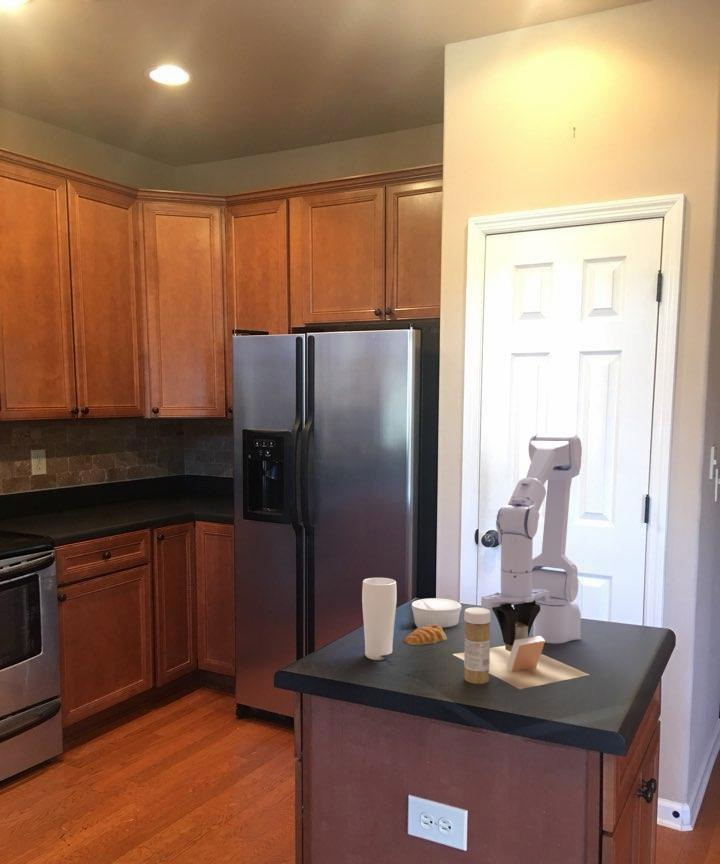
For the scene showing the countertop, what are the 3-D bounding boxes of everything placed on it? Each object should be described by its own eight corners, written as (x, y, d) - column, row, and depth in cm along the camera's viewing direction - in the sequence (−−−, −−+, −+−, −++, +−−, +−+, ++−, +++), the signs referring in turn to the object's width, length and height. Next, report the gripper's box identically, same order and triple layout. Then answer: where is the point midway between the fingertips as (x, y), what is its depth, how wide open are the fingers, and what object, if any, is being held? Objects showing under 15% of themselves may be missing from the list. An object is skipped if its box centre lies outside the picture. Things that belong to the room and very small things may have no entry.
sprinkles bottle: (477, 679, 128) (478, 605, 128) (495, 687, 124) (496, 611, 124) (458, 684, 125) (458, 608, 125) (475, 692, 121) (476, 614, 121)
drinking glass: (402, 656, 140) (403, 581, 140) (380, 665, 135) (381, 586, 135) (377, 649, 144) (378, 575, 144) (354, 656, 139) (355, 580, 139)
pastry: (419, 654, 142) (419, 635, 142) (395, 647, 147) (395, 628, 147) (449, 645, 148) (449, 627, 148) (425, 638, 153) (425, 620, 153)
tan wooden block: (516, 647, 134) (516, 621, 134) (527, 652, 131) (527, 625, 131) (505, 649, 133) (505, 622, 132) (516, 654, 130) (516, 627, 130)
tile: (531, 662, 132) (540, 635, 130) (537, 667, 131) (545, 641, 129) (506, 666, 130) (514, 639, 128) (511, 672, 128) (519, 645, 126)
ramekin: (401, 626, 162) (401, 603, 161) (433, 617, 169) (434, 595, 169) (438, 637, 153) (438, 613, 153) (471, 627, 161) (471, 604, 161)
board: (517, 649, 145) (517, 643, 145) (589, 681, 127) (589, 674, 127) (452, 660, 138) (452, 654, 138) (519, 696, 120) (519, 689, 120)
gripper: (498, 577, 125) (497, 654, 125) (561, 570, 132) (560, 643, 132) (474, 570, 131) (473, 643, 131) (535, 564, 138) (534, 633, 138)
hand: (515, 642), depth 132 cm, fingers closed on tan wooden block, 3 cm apart
